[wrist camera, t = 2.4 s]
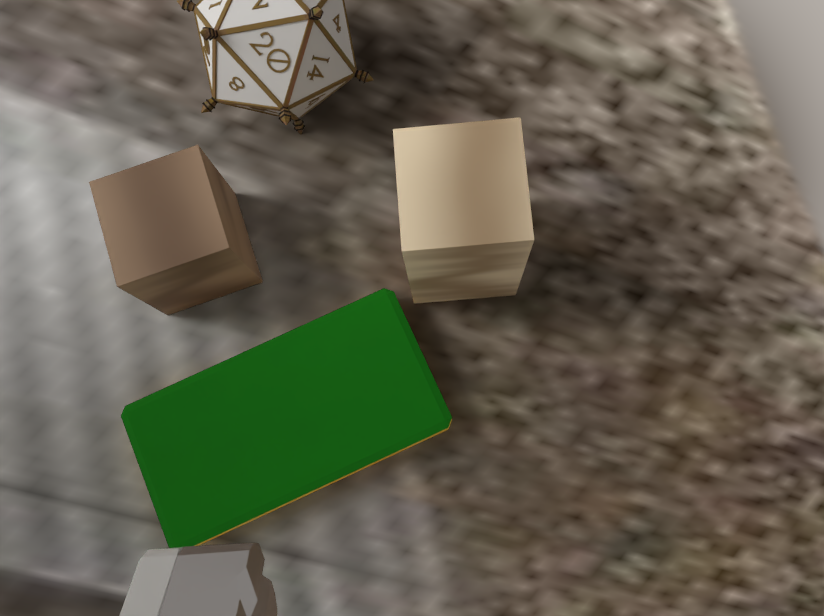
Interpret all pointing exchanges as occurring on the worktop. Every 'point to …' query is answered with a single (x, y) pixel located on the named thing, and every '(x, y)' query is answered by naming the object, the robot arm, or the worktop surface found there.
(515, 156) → the maple block
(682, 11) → the worktop surface
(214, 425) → the dish sponge
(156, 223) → the walnut block
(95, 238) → the worktop surface
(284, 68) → the game die
